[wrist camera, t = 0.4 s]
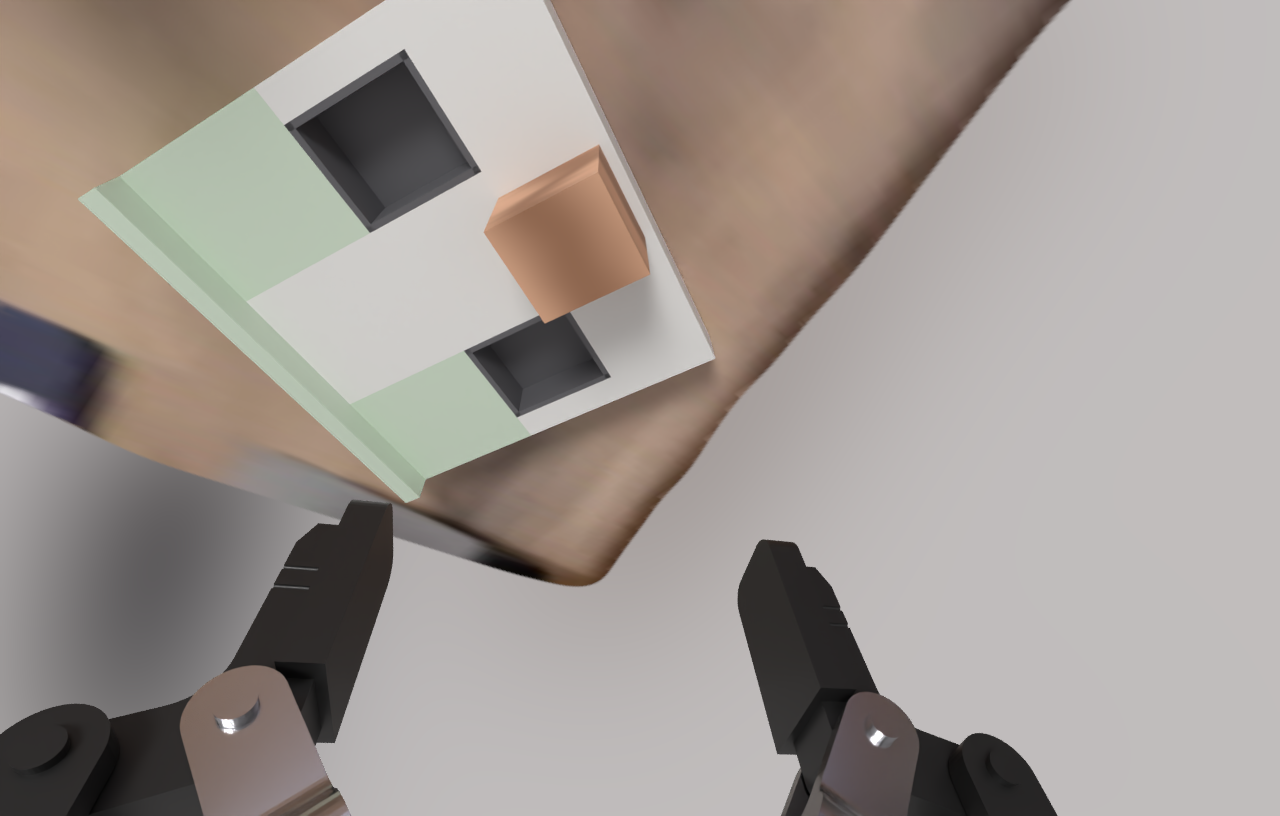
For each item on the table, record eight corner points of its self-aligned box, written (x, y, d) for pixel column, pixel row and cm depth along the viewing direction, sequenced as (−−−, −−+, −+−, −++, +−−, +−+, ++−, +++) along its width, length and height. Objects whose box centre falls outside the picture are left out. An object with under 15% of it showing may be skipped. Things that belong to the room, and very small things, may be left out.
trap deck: (514, -76, 22) (498, -82, 19) (709, 334, 33) (719, 374, 30) (140, 170, 27) (77, 199, 24) (422, 457, 38) (406, 502, 35)
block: (599, 144, 25) (598, 172, 21) (644, 237, 27) (650, 274, 24) (498, 198, 26) (483, 232, 23) (551, 282, 28) (544, 323, 25)
